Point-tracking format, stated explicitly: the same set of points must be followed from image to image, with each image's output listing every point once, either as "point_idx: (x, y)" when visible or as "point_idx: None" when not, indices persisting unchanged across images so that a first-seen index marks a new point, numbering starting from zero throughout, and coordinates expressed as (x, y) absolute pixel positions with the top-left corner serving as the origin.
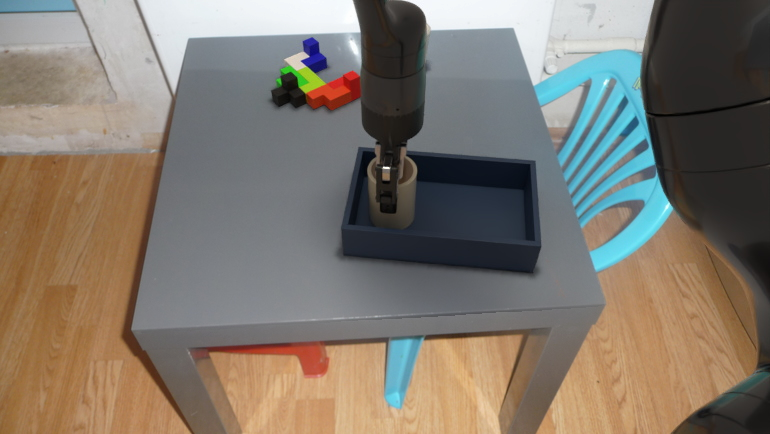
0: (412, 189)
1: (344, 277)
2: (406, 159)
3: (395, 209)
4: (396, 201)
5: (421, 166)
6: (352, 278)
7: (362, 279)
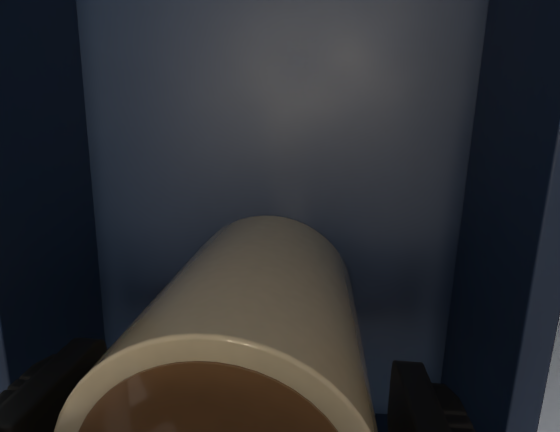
0: (304, 316)
1: (541, 421)
2: (97, 407)
3: (428, 381)
4: (447, 424)
5: (41, 219)
6: (546, 398)
7: (552, 369)
